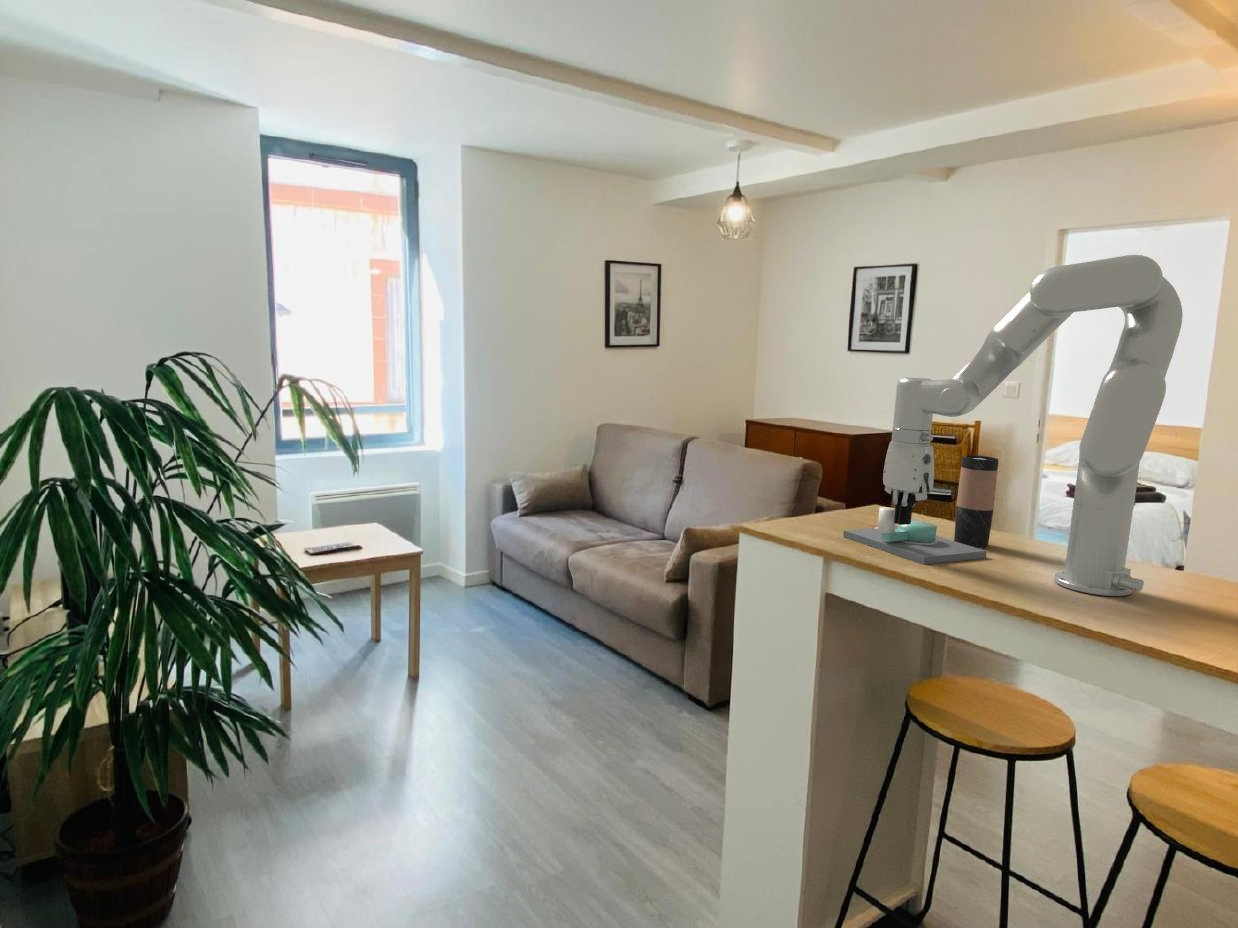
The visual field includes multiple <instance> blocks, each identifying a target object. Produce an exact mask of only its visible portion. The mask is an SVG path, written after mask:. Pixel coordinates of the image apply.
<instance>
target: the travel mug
mask: <svg viewBox="0 0 1238 928" xmlns="http://www.w3.org/2000/svg"><path fill="white" fill-rule="evenodd" d="M960 465H961V466H960V472H959V473H960V474H959V481H958V482H959V483H958V490H957V491H958V492H957V497H956V499H957V500H956V508H955V509H956V510H955V519H954V520H955V522H954V534H953V535H954V537H953V541H955V542H958V543H962V544H965V545H969V546H972V547H975V548H979V549H986V548H988V546H989V541H990V536H991V529H992V522H993V514H994V508H995V499H996V498H995V497H996V489H997V488H996V487H997V478H998V469H999V459H998V458H996V457H994V456H993V457H992V456H986V455H985V456H984V455H975V454H974V455H972V454H969V455H966V456H963V455H962V456H961V464H960Z"/></svg>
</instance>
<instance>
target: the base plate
mask: <svg viewBox="0 0 1238 928" xmlns="http://www.w3.org/2000/svg"><path fill="white" fill-rule="evenodd" d="M877 529H878V526H876V527H873V528H860V529H848V530H847V529H846V530H843V536H844V537H843V538H845V537H846V538H845V539H848V538H849V540H851V541H854V542H857V543H861V544H863V545H867V546H869V547H873V548H875V549H878V550H880V551H884V552H886V553H890V554H892V555H894V556H895V555H896V556H898V557H901V558H904V559H906V560H910V561H913V562H916V563H919V564H922V565H929V564H939V563H949V562H959V561H960V562H961V561H967V560H977V559H986V558H987V552H988V551H987V550H984V549H983V548H975V547H972V546H969V545H965V544H962V543H958V542H955V541H954V540H952V539H948V538H944V537H941V536H938V535H936V539H935V541H934V542H915V541H909V540H904V541H892V542H888V541H885V540H882V539H881V536H882V532H879V531H877ZM895 529H898V525H897V526H895Z"/></svg>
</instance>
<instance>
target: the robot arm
mask: <svg viewBox="0 0 1238 928" xmlns="http://www.w3.org/2000/svg"><path fill="white" fill-rule="evenodd" d="M1111 308H1120V309H1121V310H1122V313H1123V315H1124V324H1123V328H1122V331H1121V335H1120V337H1119V341H1118V344H1117V347H1116V350H1115V353H1114V354H1113V355H1114V356H1113V359H1112V361H1111V364H1110V366H1109V369H1108V370H1107V372H1106V374H1104V376H1103V377H1102V379H1101V383H1100V386H1099V388H1098V391H1097V394H1096V397H1095V400H1094V403H1093V404H1092V405H1093V406H1092V408H1091V411H1090V415H1089V417H1088V421H1087V423H1086V426H1085V429H1084V432H1083V435H1082V437H1081V439H1080V443H1079V448H1078V449H1079V450H1078V451H1079V456H1078V465H1077V474H1076V480H1075V489H1074V495H1073V503H1072V509H1071V510H1072V512H1071V518H1070V524H1069V525H1070V526H1069V534H1068V540H1067V550H1066V557H1065V566H1064V571H1059V572H1056V573H1055V574H1054V578H1053V580H1054V582H1055V583H1056V584H1058V585H1059V586H1062V587H1064V588H1067V589H1069V590H1073V591H1076V592H1081V593H1085V594H1090V595H1096V596H1097V595H1098V596H1106V597H1125V596H1129V595H1132V593H1133V591H1134V592H1138V593H1140V592H1142V590H1143V588H1144V584H1145V581H1144V579H1140V578H1136V577H1132V576H1131V573H1132V570H1131V568H1128V567H1126V564H1127V563H1126V561H1127V555H1128V547H1129V540H1130V534H1131V525H1132V520H1133V512H1134V507H1135V501H1136V494H1137V486H1138V477H1139V469H1140V464H1141V463H1140V462H1141V460H1142V458H1143V456H1144V455H1145V454H1144V453H1145V451H1146V449H1147V446H1148V444H1149V442H1150V441H1149V440H1150V438H1151V435H1152V432H1153V430H1154V427H1155V425H1156V423H1157V419H1158V416H1159V414H1160V411H1161V409H1162V406H1163V403H1164V400H1165V397H1166V393H1167V392H1166V391H1167V383H1166V376H1167V373H1168V370H1169V367H1170V364H1171V361H1172V358H1173V355H1174V352H1175V350H1176V345H1177V342H1178V339H1179V337H1180V332H1181V329H1182V323H1183V305H1182V302H1181V300H1180V297H1179V294H1178V292H1177V291H1176V288H1175V287H1174V286H1173V284H1171V282H1170V281H1169V280H1168V279H1167V278H1165V276H1163V270H1162V268H1161V266H1160V265H1159V263H1158V262H1156V260H1154V259H1152V258H1151V257H1149V256H1146V255H1143V254H1142V255H1141V254H1128V255H1122V256H1121V255H1120V256H1115V257H1109V258H1104V259H1103V258H1102V259H1097V260H1096V259H1095V260H1092V261H1091V260H1090V261H1084V262H1077V263H1072V264H1070V263H1069V264H1065V265H1058V266H1053V267H1050V268H1047V269H1045V270H1043V271H1042V272H1040V273H1039V274H1038V275H1036V277H1035V278H1034V280H1033V281H1032V282H1031V285H1030V289H1029V290H1028V292H1026V293H1025V295H1024V296H1022V297H1021V299H1020V300H1018V302H1017V303H1016V304H1015V305H1014V306H1013V307H1012V308H1011V309H1010V310H1009V311H1008V312H1007V313H1006V314H1005V315H1004V316H1003V317H1002V318H1001V319H1000V320H999V321H998V322H997V323H996V324H995V325H994V326H992V328H991V330H990V331H989V332H988V334H987V336H986V337H985V339H984V342H983V344H982V346H981V348H980V349H979V350H978V352H977V353H976V354H975V355H974V356H973V358H972V359H970V361H969V362H968V363H967V364H966V365H965V366H964V367H963V368H962V369H961V370H960V371H959V372H958V373H957V374H956V375H955V376H954V377H953V378H951V379H936V380H934V379H931V378H927V377H926V378H925V377H911V376H910V377H906V376H905V377H902V378H900V379H899V380H898V381H897V384H896V392H895V403H894V413H893V422H892V433H891V440H890V441H889V444H888V448H887V451H886V456H885V460H884V465H883V467H884V468H883V473H882V475H883V476H882V481H883V485H884V491H885V492H886V493H888V494H889V495H891V497H892V500H893V501H892V502H893V504H894V506H895V507H894V508H895V516H894V523H896V524H897V525H898V524H899V525H906V524H910V523H911V521H912V515H913V507H915V506H916V504H917V503H918V502H919V501H927V500H928V494H930V493H932V492H933V491H934V490H933V489H934V480H935V456H934V447H933V445H930V444H931V442H932V441H933V440H934V436H933V435H932V434H931V433H932V425H933V418H934V415H938V416H944V417H949V418H956V417H957V418H958V417H960V416H963V415H966V414H969V413H970V412H972V411H973V410H975V409H976V408H977V407H978V406H979V405H981V403H982V402H983V401H984V400H985V399H986V398H987V397H988V396H989V395H990V394H991V393H992V392H994V390H996V389H997V388H998V386H999V385H1001V384H1002V382H1003V381H1005V379H1006V378H1007V377H1008V376H1010V374H1011V373H1012V372H1014V370H1016V369H1017V368H1018V367H1020V366H1021V365H1022V364H1023V362H1025V361H1026V360H1027V358H1028V357H1029V356H1031V355H1032V354H1033V353H1034V352H1035V351H1036V349H1038V347H1040V345H1041V344H1043V343H1044V341H1046V340H1047V339H1048V338H1049V337H1050V336H1051V335H1053V333H1054V332H1055V331H1057V329H1058V328H1059V327H1060V326H1061V325H1063V323H1065V321H1067V320H1068V318H1070V316H1072V315H1073V313H1078V312H1087V311H1095V310H1103V309H1111Z"/></svg>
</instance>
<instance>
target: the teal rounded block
mask: <svg viewBox="0 0 1238 928" xmlns="http://www.w3.org/2000/svg"><path fill="white" fill-rule="evenodd" d="M894 516H895V507H886V506H881V507H879V510H878V518H877V519H878V520H877V527H878V529H877V531H879V532H882V536H881V539H882V540H885V541H888V542H892V541H904V540H909V541H915V542H934V541H935V539H936V536H937V528H938V526H937V525H936V524H933V523H930V522H926V521H918V520H911V523H910V524H906V525H899V524H897V526H898V529H895V527H896V523H894Z"/></svg>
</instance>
